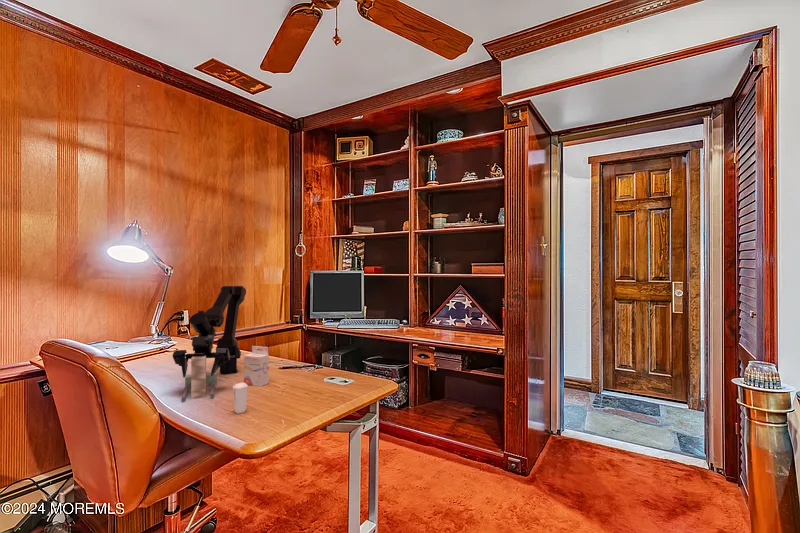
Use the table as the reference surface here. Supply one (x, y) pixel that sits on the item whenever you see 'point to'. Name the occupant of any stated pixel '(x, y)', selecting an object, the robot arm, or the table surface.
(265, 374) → the ink cartridge box
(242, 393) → the milkshake
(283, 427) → the table surface
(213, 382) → the guide track
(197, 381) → the post
